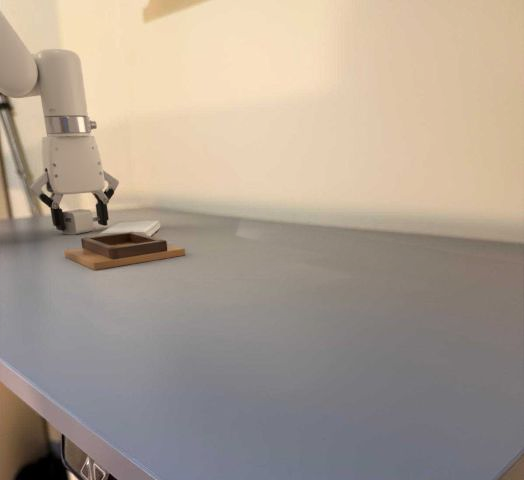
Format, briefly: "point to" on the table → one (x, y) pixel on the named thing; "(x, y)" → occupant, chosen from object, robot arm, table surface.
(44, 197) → the robot arm
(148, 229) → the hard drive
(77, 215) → the usb wall charger
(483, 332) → the table surface
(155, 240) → the wooden tray
